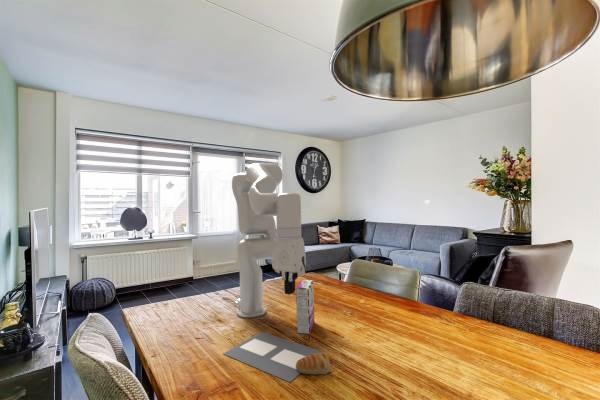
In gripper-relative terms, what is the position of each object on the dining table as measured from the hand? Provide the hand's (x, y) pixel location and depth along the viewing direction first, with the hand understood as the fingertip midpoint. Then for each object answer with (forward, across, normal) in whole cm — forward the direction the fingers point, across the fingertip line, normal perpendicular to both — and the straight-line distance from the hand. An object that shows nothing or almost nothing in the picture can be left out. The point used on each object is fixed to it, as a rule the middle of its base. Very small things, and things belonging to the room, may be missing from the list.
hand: (289, 293), depth 89 cm
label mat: (+19, -5, -2) cm, 20 cm away
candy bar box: (+19, -7, +19) cm, 28 cm away
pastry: (+19, +10, -2) cm, 22 cm away
